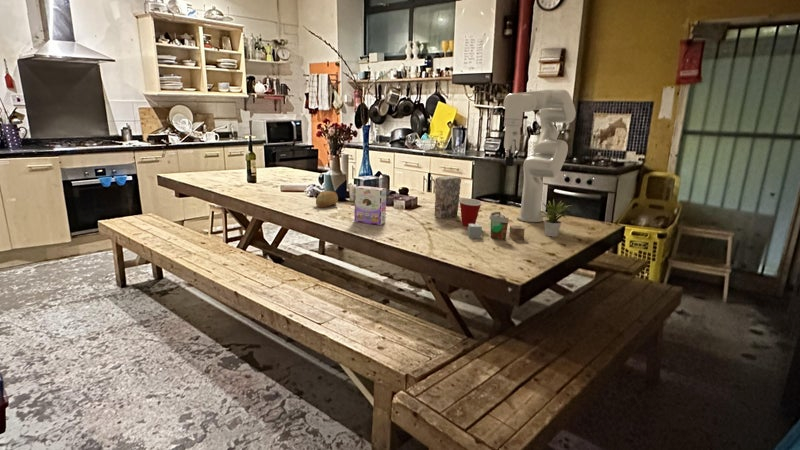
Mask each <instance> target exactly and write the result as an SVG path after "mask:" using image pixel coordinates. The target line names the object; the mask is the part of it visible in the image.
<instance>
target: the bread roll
mask: <svg viewBox="0 0 800 450" xmlns="http://www.w3.org/2000/svg"><path fill="white" fill-rule="evenodd" d="M338 201H339V197H338V194H337V192H335V191H331V190H324V191H321V192H320V193H319V194H318V195H317V196H316V199H315V204H316V206H317V207H318V208H327V207H329V206H333V205H335V204H337V203H338Z"/></svg>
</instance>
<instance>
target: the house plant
mask: <svg viewBox="0 0 800 450" xmlns="http://www.w3.org/2000/svg"><path fill="white" fill-rule="evenodd" d="M564 203H565V202H562V199H561V200H560V201H559V202H558V204H556V203H555V198H553V200H552V203H551V201H550V200H548V204H545V203H544V202H542V205H543V206H544V207H545V209H546V210H547V211H546V212H545V211H542V210H540V212H542V213H544V214H546V213H547V214H548V215H547V214H546V215H547V216H548V217H546V218H547V219H545V220H544V234H545V236H546V235H547V237H550V236H552V237H551V238H553V237H554V238H556V237H558V235H559V232H560V227H561V224H562V222H561V221H560V220H559V219H561V218H562V217H563V218H565V219H567V214H568V212H565V213H562V212H563V211H569V210H571V209H570V208H569V207H571V206H573V204H571V205H564Z"/></svg>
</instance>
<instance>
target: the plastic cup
mask: <svg viewBox="0 0 800 450" xmlns="http://www.w3.org/2000/svg"><path fill="white" fill-rule="evenodd" d="M482 205H483V202H482V201H481V200H479V199H475V198H469V197H468V198H459V206H460V218H461V224H462V226H463V227H464V228H468V224H477V219H478V215H479V211H480V209H481V206H482Z"/></svg>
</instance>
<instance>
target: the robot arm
mask: <svg viewBox="0 0 800 450" xmlns="http://www.w3.org/2000/svg"><path fill="white" fill-rule="evenodd" d="M503 107H504V109H505V111H504V121H503V127H505V131H504V139H503V140H504V141H503V148H504V149H505V160H504V166H505V167H513V166H514V159H515V151H519V150H520V142H521V128H522V125H523V119H524V118H523V117H524V113H525V112H526V113H529V112H530V113H531V112H532V111H539V110H540V112H539V119H540V126H541V127H540V128H541V130H540V132H539V133H540V134H539V136H538V137H537V140H536V142H535V145H534V147H533V154H534V156H528V157H526V158H525V160H524V161H523V165H522V166H523V167H522V169H523V186H522V196H521V203H520V214H518V215H516V219H517V220H518V221H520V222H521V221H522V222H524V223H525V222H526V223H541V222H543V219H544V218H547V217H548V216H547V215H548V214H547V213H548V212H545V213H546V214H547V215H546V214H544V213H542V212H540V211H542V209H541V208H542V203H543V202H542V200H543V192H544V182H543V181H542V178H548V179H556V178H557V177H558V176H559V174H560V173H561V170H562V167H563V166H564V163H565V160H566V158H567V155H568V152H569V150H568V149H569V145H568V143H567V142H566V141H565V140H563V139H558V138H559V131H558V129H557V128H556V126H555V124H554V123H558V124H560V123H562V124H568V123H569V124H570V123H572V122H573V121H574V120H575V118H576V115H577V114H576V112H577V111H576V107H575V105H574V102H573V99H572V97H571V95H570V93H569V92H568V91H567V90H566V89H541V90H532V91H526V92H514V93H508V94H507V95H506V96H505V97H504V100H503Z"/></svg>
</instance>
